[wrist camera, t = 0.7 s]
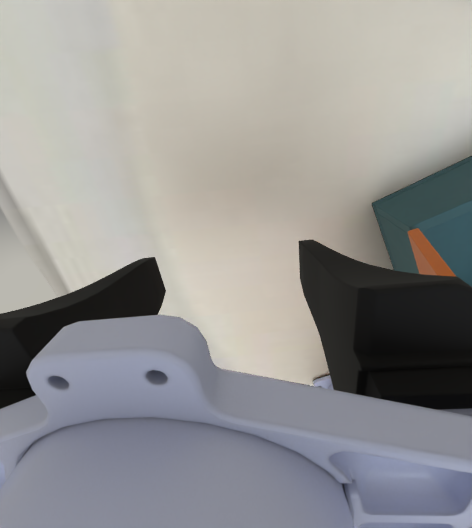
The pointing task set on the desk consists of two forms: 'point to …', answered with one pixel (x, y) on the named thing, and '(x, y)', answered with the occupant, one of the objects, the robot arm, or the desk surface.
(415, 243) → the lid
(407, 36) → the desk surface
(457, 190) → the wipe case
